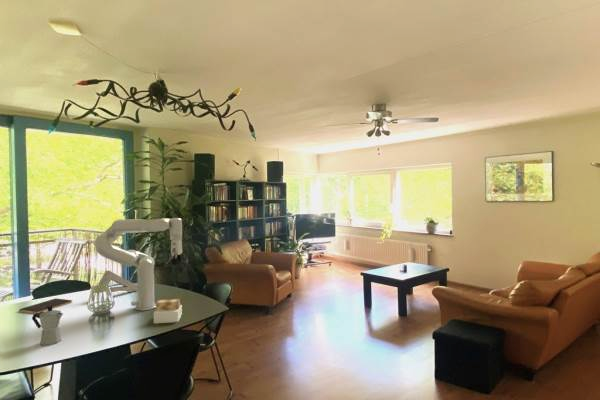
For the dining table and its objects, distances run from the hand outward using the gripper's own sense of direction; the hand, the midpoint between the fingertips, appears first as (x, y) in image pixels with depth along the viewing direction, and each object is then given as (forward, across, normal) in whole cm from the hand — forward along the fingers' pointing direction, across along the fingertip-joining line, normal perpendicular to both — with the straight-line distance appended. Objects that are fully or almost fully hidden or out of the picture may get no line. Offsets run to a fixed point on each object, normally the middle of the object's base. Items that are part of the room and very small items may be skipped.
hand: (176, 263), depth 229 cm
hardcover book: (+28, +3, +84) cm, 88 cm away
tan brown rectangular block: (+25, -27, -2) cm, 37 cm away
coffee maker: (+27, -54, +47) cm, 77 cm away
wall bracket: (+28, +24, +49) cm, 61 cm away
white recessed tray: (+27, -27, -2) cm, 39 cm away
